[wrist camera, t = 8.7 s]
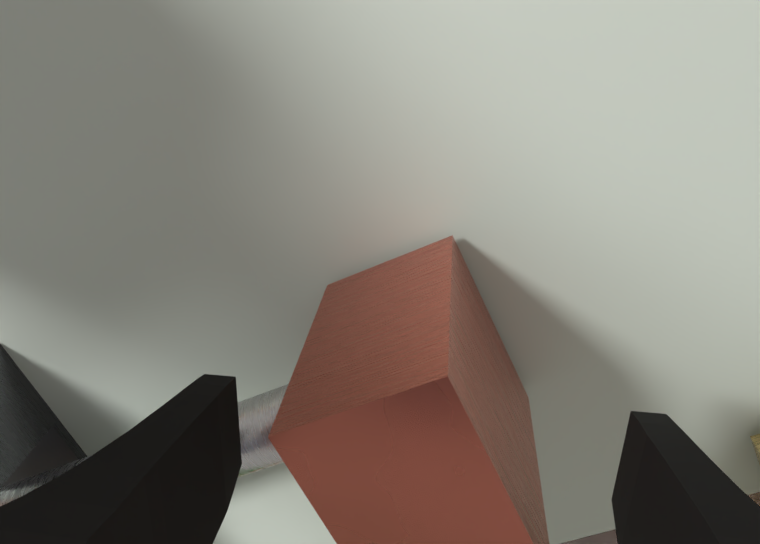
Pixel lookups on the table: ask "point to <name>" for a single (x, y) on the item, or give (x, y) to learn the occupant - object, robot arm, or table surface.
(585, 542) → the table surface
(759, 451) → the keeper bar
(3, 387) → the eye bracket
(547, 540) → the mallet
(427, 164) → the board
